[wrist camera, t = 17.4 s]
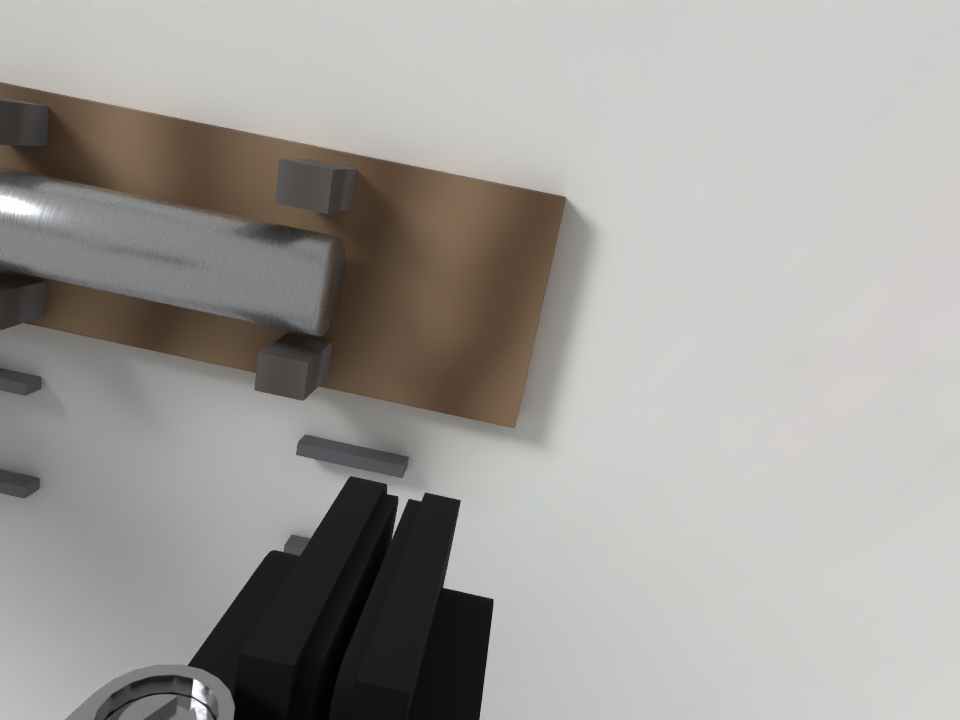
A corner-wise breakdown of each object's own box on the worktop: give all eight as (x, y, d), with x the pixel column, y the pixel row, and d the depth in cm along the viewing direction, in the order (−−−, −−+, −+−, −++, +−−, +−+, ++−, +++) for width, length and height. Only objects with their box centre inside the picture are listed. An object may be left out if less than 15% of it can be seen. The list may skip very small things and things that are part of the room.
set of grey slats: (-57, 467, 36) (-73, 476, 35) (-60, 355, 34) (-78, 361, 33) (389, 567, 35) (384, 578, 34) (408, 457, 33) (404, 466, 32)
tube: (-196, 219, 31) (-303, 213, 27) (-192, 125, 30) (-300, 105, 26) (335, 331, 30) (305, 342, 26) (351, 237, 30) (324, 234, 26)
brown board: (-152, 275, 33) (-413, 317, 24) (-167, 48, 30) (-469, 0, 21) (515, 418, 32) (503, 518, 23) (565, 196, 29) (572, 212, 20)
